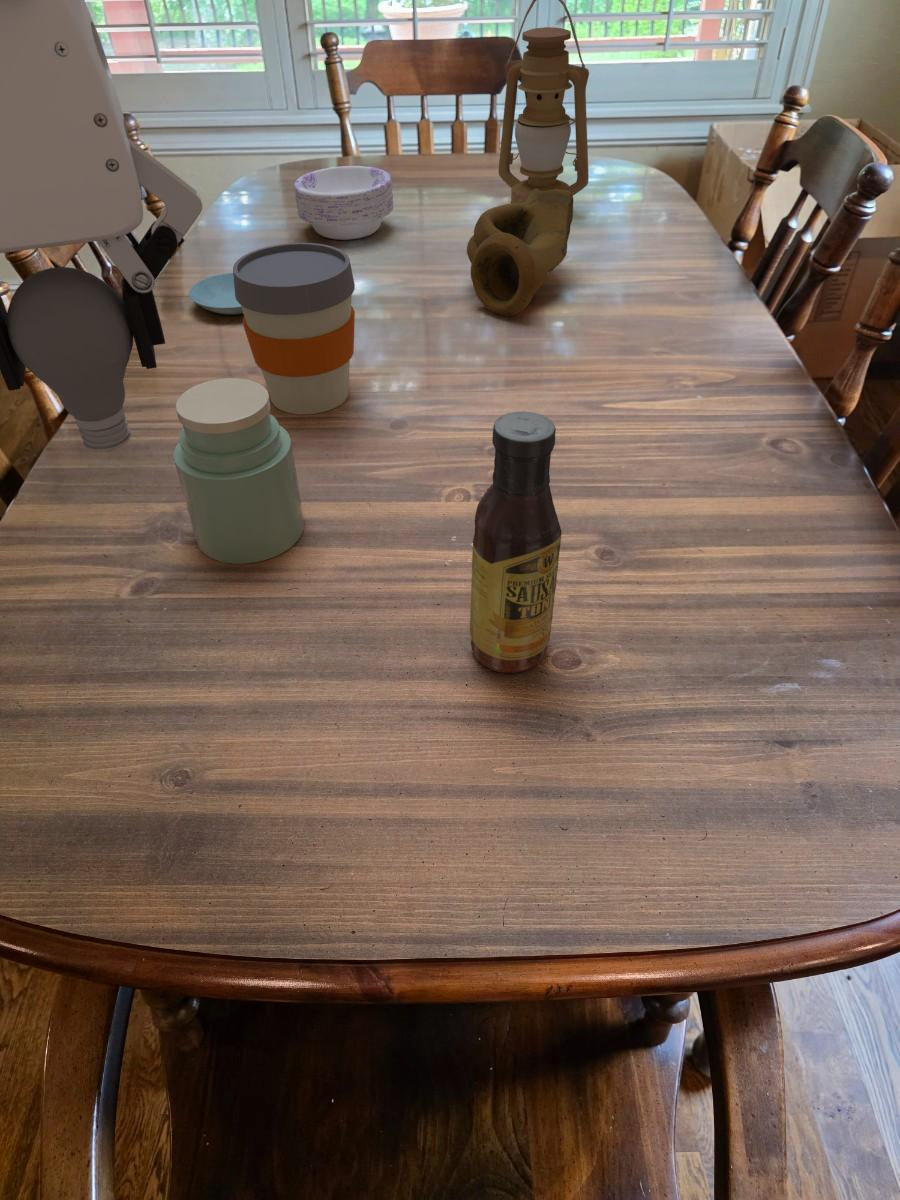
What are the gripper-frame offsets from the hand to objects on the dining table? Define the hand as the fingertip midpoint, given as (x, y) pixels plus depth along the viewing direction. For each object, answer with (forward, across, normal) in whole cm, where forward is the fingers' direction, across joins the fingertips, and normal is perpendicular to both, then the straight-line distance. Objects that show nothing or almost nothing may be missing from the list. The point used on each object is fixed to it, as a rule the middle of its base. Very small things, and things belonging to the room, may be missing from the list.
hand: (83, 364), depth 46 cm
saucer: (+28, -12, -72) cm, 79 cm away
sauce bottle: (+28, -24, +2) cm, 37 cm away
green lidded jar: (+28, -7, -21) cm, 35 cm away
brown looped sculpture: (+28, -51, -67) cm, 89 cm away
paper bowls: (+28, -33, -96) cm, 105 cm away
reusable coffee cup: (+28, -17, -44) cm, 55 cm away
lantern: (+28, -66, -93) cm, 117 cm away
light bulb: (+5, 0, 0) cm, 5 cm away
